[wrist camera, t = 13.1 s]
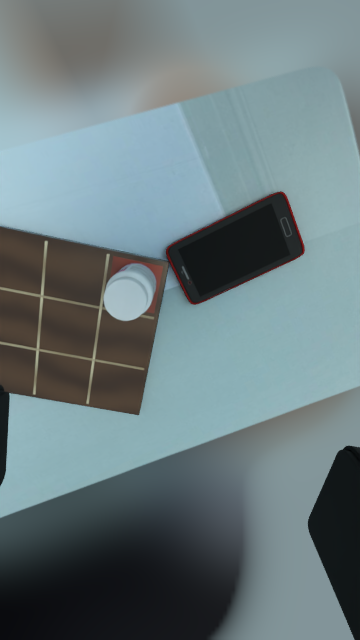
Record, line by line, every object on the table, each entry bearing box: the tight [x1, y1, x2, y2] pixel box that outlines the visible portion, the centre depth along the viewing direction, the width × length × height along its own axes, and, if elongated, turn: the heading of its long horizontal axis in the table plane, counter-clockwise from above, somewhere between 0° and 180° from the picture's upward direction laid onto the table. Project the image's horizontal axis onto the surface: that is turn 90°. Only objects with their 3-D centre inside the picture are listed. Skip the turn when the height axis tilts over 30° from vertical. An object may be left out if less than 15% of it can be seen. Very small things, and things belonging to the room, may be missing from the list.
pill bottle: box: [104, 263, 156, 321], centre depth 33 cm, size 5×5×8 cm
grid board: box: [0, 226, 169, 415], centre depth 39 cm, size 21×21×1 cm
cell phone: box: [166, 192, 305, 305], centre depth 36 cm, size 8×15×1 cm, turn 116°
